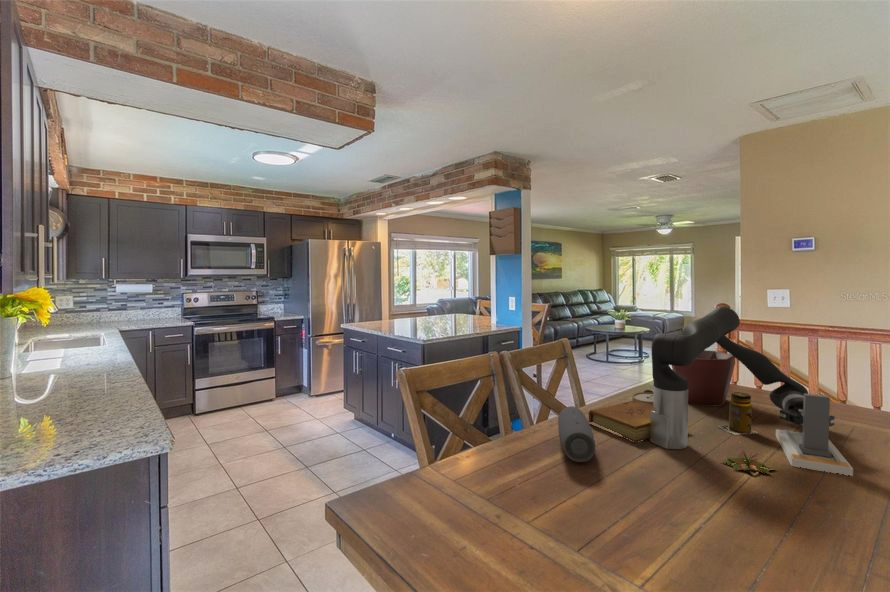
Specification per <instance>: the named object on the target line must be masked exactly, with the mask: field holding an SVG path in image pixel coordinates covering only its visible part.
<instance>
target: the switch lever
mask: <svg viewBox="0 0 890 592" xmlns="http://www.w3.org/2000/svg"><path fill="white" fill-rule="evenodd" d="M830 403H831V397H830V396H829V395H827V394H825V395H823V394H815V393H814V394H812V393H808V394H805V393H804V402H803V425H802V433H803V438H802V444H799V448H800V449H801V451H802V453H806V454H812V455H819V456H825V457H832V453H831V451H830V450H829V449H828V442H829V440H830V439H829V436H830V433H829V432H830V426H829V416H830V410H831V409H830V406H831V404H830Z"/></svg>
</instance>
